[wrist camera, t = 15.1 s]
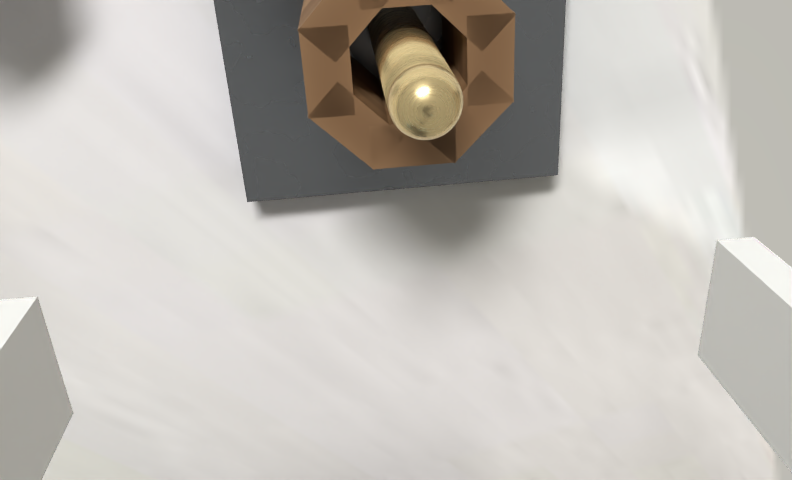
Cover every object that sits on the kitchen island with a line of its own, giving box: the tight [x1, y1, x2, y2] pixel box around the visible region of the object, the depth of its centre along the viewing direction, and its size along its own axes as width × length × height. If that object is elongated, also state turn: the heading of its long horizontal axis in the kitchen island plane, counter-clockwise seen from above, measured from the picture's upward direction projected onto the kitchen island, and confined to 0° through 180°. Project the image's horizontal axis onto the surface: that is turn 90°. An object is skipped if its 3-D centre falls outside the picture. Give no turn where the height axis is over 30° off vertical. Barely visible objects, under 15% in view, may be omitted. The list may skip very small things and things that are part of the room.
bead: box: [298, 0, 516, 170], centre depth 30 cm, size 8×8×7 cm
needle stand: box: [214, 0, 566, 202], centre depth 28 cm, size 16×16×15 cm
